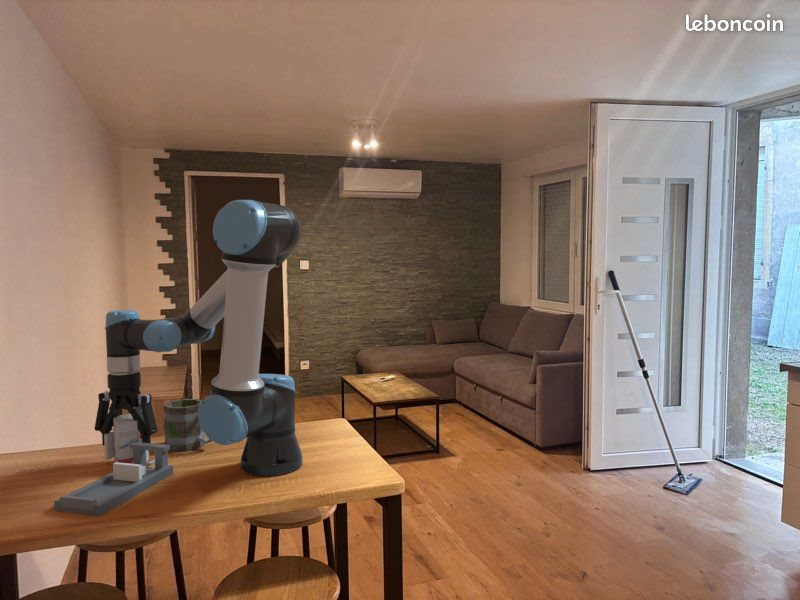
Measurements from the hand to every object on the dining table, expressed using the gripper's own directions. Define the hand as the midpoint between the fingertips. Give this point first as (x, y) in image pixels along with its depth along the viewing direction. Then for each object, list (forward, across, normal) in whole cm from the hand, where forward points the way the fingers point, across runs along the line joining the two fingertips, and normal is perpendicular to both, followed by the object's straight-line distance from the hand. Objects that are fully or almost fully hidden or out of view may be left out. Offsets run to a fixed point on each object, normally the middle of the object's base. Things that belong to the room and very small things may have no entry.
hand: (126, 459), depth 148 cm
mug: (+1, -8, -16) cm, 18 cm away
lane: (+1, -10, +15) cm, 18 cm away
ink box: (+1, 0, 0) cm, 1 cm away
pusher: (0, -10, +7) cm, 12 cm away
